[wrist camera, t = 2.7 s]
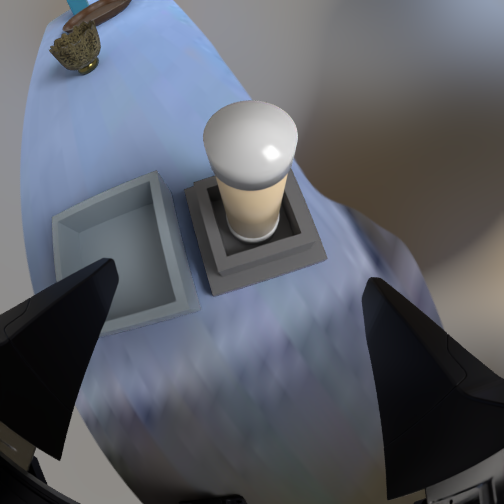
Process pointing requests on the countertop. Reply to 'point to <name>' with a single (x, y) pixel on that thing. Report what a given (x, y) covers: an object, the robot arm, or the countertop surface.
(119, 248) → the tray
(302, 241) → the tray
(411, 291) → the countertop surface
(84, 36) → the cup
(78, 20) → the plant saucer
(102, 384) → the countertop surface
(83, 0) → the data package
